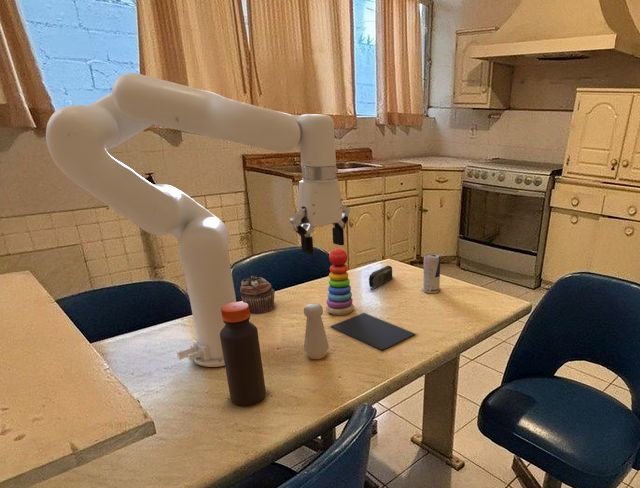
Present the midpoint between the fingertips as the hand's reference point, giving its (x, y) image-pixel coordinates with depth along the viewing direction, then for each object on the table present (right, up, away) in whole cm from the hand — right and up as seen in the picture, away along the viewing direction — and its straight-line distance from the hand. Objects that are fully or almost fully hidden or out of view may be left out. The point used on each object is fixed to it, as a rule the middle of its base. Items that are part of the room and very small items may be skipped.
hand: (323, 248), depth 107 cm
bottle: (-12, -32, -15) cm, 37 cm away
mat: (+10, -21, +14) cm, 27 cm away
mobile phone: (+9, -7, +48) cm, 50 cm away
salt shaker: (-2, -26, +2) cm, 26 cm away
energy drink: (+27, -9, +43) cm, 51 cm away
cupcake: (-25, -15, +28) cm, 40 cm away
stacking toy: (-1, -16, +27) cm, 31 cm away
